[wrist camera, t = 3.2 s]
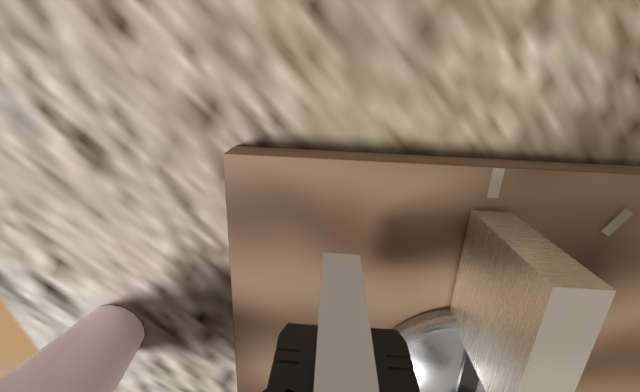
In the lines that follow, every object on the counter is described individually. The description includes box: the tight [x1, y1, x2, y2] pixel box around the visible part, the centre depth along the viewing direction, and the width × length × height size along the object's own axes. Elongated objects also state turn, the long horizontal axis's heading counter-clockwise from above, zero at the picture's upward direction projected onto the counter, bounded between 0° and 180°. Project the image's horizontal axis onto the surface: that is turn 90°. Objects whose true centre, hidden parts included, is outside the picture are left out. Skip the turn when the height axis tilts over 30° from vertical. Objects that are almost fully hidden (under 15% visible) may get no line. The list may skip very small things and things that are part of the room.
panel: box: [224, 146, 640, 392], centre depth 19 cm, size 21×25×2 cm
